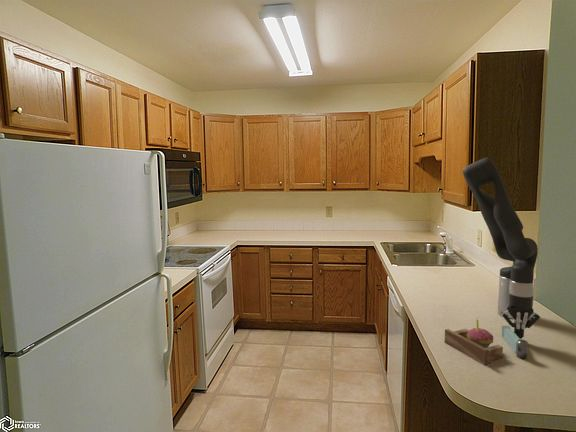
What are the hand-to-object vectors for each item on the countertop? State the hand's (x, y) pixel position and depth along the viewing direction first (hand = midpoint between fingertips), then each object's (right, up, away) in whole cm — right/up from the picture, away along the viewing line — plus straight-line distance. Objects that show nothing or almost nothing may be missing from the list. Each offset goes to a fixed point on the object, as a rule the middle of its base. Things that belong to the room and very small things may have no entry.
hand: (518, 337), depth 138 cm
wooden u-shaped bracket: (-20, -3, -5) cm, 21 cm away
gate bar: (-4, -2, -2) cm, 5 cm away
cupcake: (-17, -3, -4) cm, 18 cm away
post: (-6, -3, -11) cm, 13 cm away
